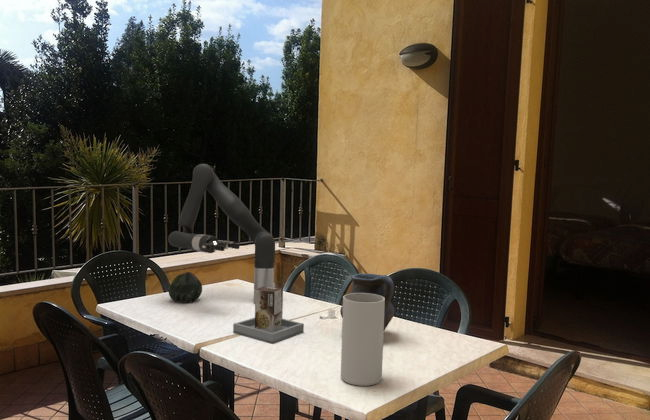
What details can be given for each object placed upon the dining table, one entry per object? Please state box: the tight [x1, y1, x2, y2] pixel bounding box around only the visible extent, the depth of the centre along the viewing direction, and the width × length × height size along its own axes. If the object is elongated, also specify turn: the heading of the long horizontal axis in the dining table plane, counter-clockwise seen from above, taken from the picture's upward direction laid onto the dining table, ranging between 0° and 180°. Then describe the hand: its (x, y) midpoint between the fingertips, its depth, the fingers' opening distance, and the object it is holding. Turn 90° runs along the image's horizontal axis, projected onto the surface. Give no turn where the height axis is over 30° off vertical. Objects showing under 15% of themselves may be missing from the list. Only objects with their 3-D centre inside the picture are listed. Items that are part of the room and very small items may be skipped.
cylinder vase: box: [340, 293, 385, 387], centre depth 161 cm, size 12×12×25 cm
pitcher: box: [340, 273, 396, 332], centre depth 203 cm, size 21×22×25 cm
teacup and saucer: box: [319, 308, 341, 321], centre depth 229 cm, size 9×8×4 cm
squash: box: [168, 271, 203, 304], centre depth 250 cm, size 14×15×15 cm
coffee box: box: [254, 286, 284, 333], centre depth 205 cm, size 9×6×16 cm
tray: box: [232, 317, 305, 345], centre depth 205 cm, size 18×20×4 cm
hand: (231, 247), depth 221 cm, fingers open, 8 cm apart
